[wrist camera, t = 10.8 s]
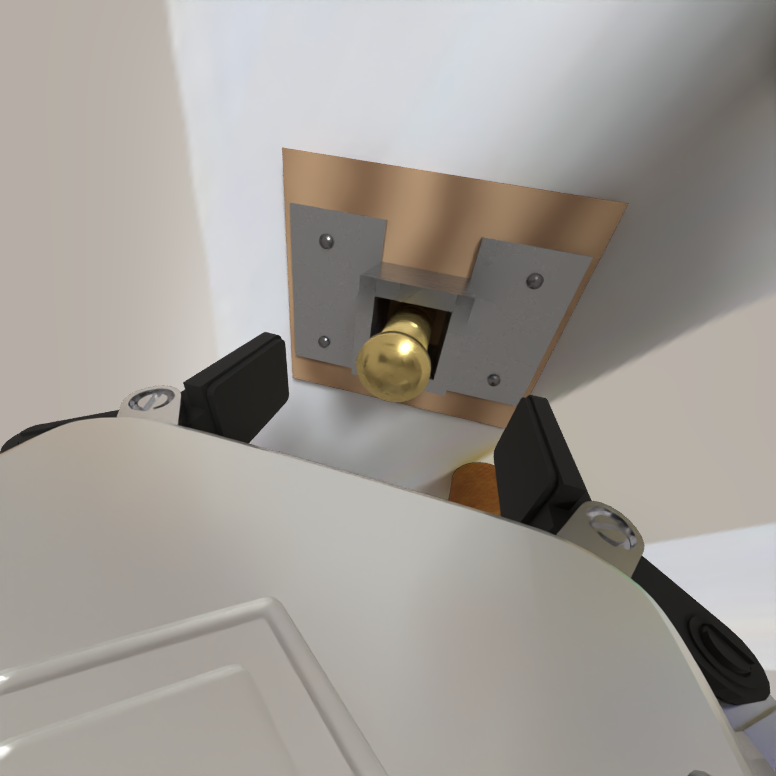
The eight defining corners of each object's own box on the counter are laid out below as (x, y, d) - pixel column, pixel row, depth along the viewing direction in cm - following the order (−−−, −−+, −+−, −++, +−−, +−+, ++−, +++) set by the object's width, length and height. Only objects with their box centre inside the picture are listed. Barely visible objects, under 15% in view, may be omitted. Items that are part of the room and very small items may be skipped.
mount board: (618, 204, 18) (628, 203, 17) (509, 422, 27) (511, 430, 26) (291, 151, 20) (282, 147, 19) (298, 372, 29) (292, 377, 28)
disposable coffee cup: (544, 483, 30) (589, 614, 20) (481, 518, 35) (492, 637, 25) (477, 436, 29) (489, 552, 19) (421, 480, 34) (408, 590, 24)
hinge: (589, 256, 18) (640, 270, 13) (516, 402, 25) (532, 449, 20) (293, 202, 20) (240, 197, 15) (298, 352, 27) (262, 383, 22)
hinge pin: (445, 293, 21) (438, 345, 13) (434, 339, 23) (421, 409, 15) (397, 283, 21) (359, 327, 13) (389, 329, 24) (353, 392, 15)
